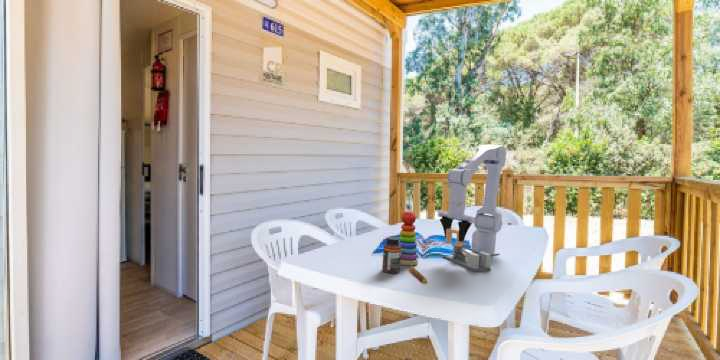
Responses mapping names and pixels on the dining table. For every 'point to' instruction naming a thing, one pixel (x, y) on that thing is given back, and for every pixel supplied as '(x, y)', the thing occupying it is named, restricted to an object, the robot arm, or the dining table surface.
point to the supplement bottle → (392, 255)
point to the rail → (464, 262)
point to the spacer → (449, 236)
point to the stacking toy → (408, 240)
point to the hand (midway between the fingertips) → (454, 239)
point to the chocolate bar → (417, 275)
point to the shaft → (461, 251)
